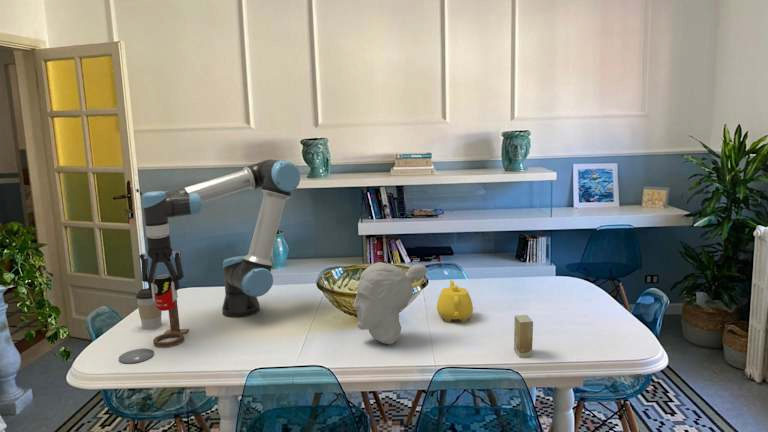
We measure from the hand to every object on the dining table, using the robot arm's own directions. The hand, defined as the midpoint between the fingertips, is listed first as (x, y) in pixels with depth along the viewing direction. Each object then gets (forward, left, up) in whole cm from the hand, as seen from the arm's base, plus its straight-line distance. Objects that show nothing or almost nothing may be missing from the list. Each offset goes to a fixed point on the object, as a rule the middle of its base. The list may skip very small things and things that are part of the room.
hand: (165, 299), depth 200 cm
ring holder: (0, -3, -16) cm, 16 cm away
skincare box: (-122, +25, -16) cm, 125 cm away
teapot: (-106, -12, -16) cm, 108 cm away
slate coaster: (+7, +12, -16) cm, 21 cm away
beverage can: (0, 0, -4) cm, 4 cm away
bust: (-80, +8, -16) cm, 82 cm away
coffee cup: (+12, -17, -16) cm, 26 cm away
